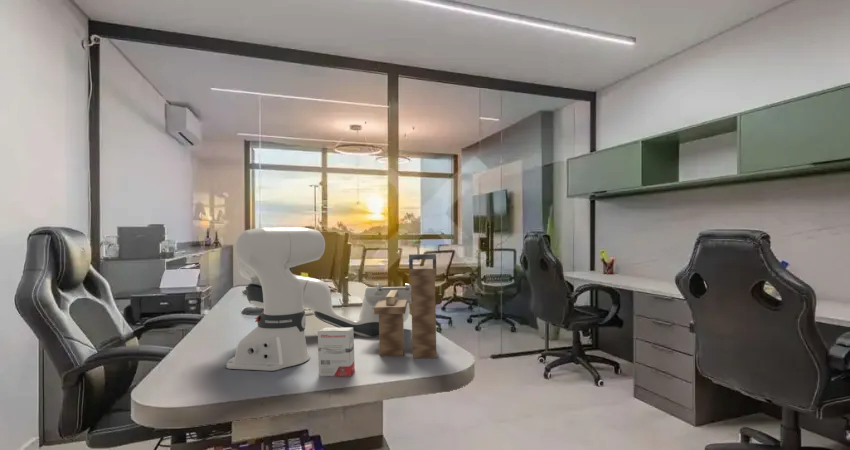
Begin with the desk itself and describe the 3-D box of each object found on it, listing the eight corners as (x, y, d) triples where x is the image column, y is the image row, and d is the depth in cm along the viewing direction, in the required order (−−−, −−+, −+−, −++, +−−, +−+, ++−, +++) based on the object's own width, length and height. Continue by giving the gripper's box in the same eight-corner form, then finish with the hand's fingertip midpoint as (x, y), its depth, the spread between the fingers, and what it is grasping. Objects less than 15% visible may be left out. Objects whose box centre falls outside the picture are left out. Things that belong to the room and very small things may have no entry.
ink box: (355, 370, 111) (354, 326, 111) (350, 376, 106) (349, 330, 106) (324, 370, 112) (323, 326, 112) (317, 376, 107) (317, 330, 107)
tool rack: (375, 358, 121) (373, 255, 121) (379, 346, 134) (378, 253, 134) (438, 357, 121) (436, 254, 121) (437, 345, 134) (435, 252, 134)
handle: (386, 304, 125) (386, 296, 125) (390, 297, 140) (390, 290, 140) (394, 304, 125) (393, 296, 125) (397, 297, 140) (397, 290, 140)
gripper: (425, 309, 147) (424, 294, 135) (367, 310, 147) (362, 295, 135) (425, 292, 150) (424, 276, 138) (368, 293, 150) (363, 277, 138)
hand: (393, 286), depth 136 cm, fingers open, 8 cm apart
